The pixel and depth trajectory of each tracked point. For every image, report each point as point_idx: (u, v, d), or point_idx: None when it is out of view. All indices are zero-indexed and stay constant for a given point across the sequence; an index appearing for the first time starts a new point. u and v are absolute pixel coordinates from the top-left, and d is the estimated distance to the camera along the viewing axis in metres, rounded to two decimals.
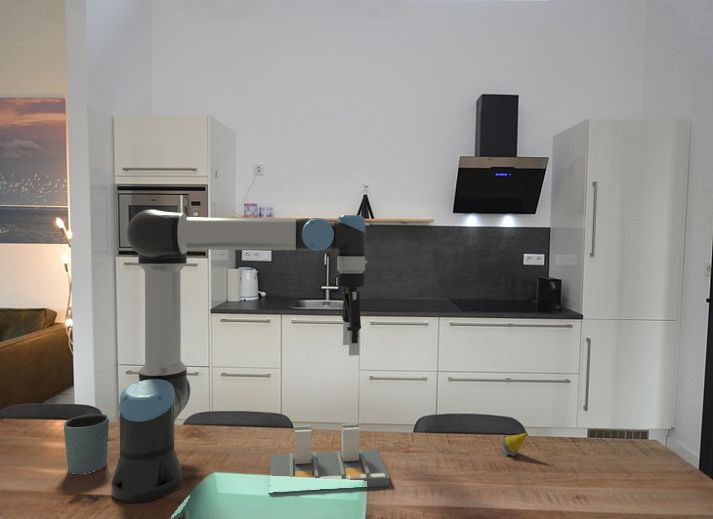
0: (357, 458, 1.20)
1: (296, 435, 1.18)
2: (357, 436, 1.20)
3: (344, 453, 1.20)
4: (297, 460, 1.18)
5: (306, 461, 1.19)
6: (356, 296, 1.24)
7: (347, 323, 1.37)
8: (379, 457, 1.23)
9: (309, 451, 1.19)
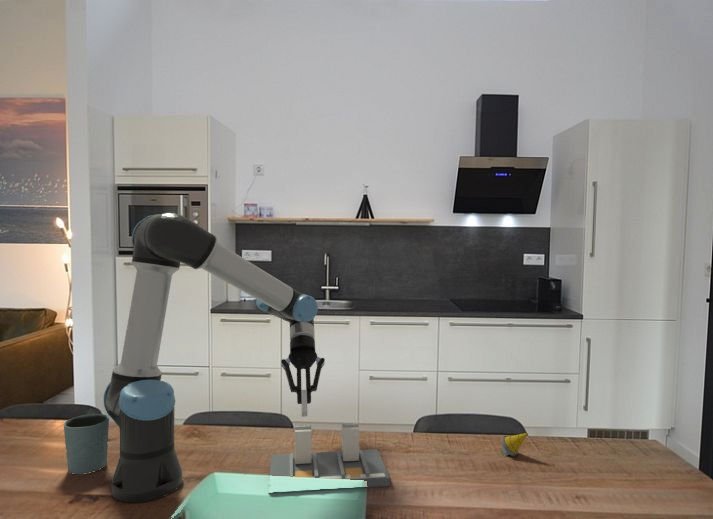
0: (357, 458, 1.20)
1: (296, 435, 1.18)
2: (357, 436, 1.20)
3: (344, 453, 1.20)
4: (297, 460, 1.18)
5: (306, 461, 1.19)
6: (323, 365, 1.41)
7: None
8: (379, 457, 1.23)
9: (309, 451, 1.19)
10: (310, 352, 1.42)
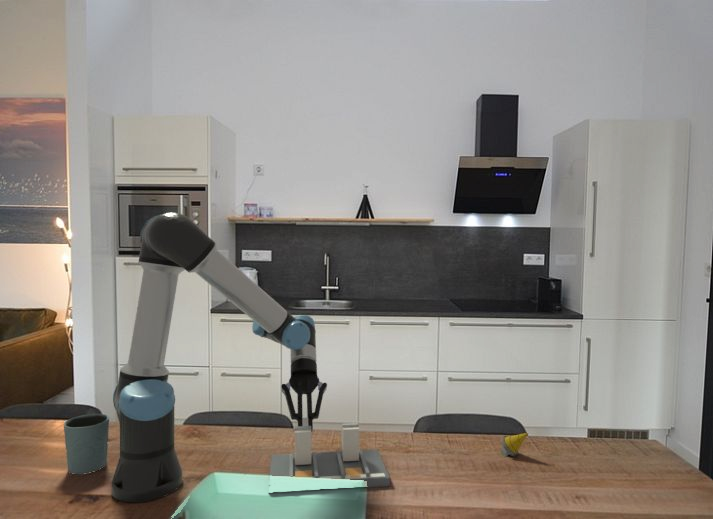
0: (357, 458, 1.20)
1: (296, 436, 1.17)
2: (357, 436, 1.20)
3: (344, 453, 1.20)
4: (297, 461, 1.18)
5: (306, 462, 1.18)
6: (325, 390, 1.35)
7: None
8: (379, 457, 1.23)
9: (309, 452, 1.18)
10: (312, 376, 1.35)
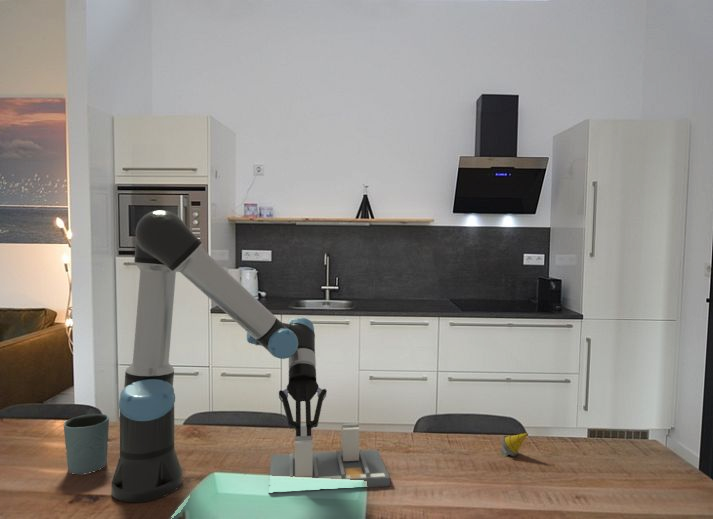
0: (357, 458, 1.20)
1: (296, 447, 1.11)
2: (357, 436, 1.20)
3: (344, 453, 1.20)
4: (297, 473, 1.11)
5: (307, 474, 1.12)
6: (324, 396, 1.28)
7: None
8: (379, 457, 1.23)
9: (310, 464, 1.12)
10: (311, 382, 1.29)
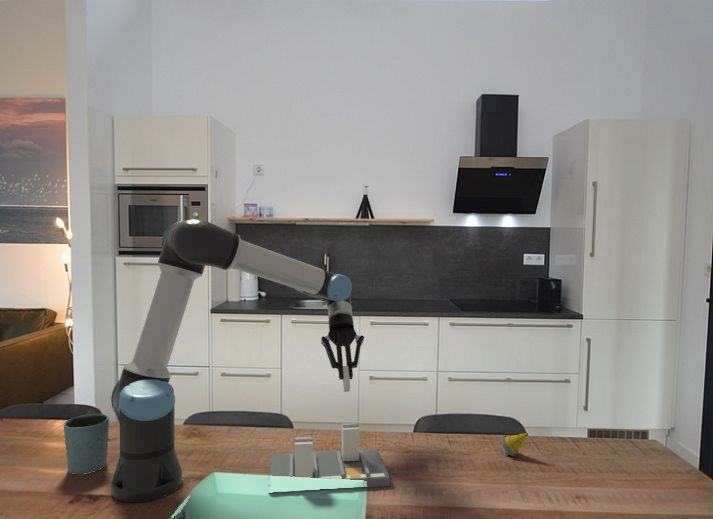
0: (357, 458, 1.20)
1: (296, 448, 1.10)
2: (357, 436, 1.20)
3: (344, 453, 1.20)
4: (297, 475, 1.11)
5: (307, 476, 1.11)
6: (362, 342, 1.42)
7: None
8: (379, 457, 1.23)
9: (310, 465, 1.11)
10: (349, 330, 1.43)
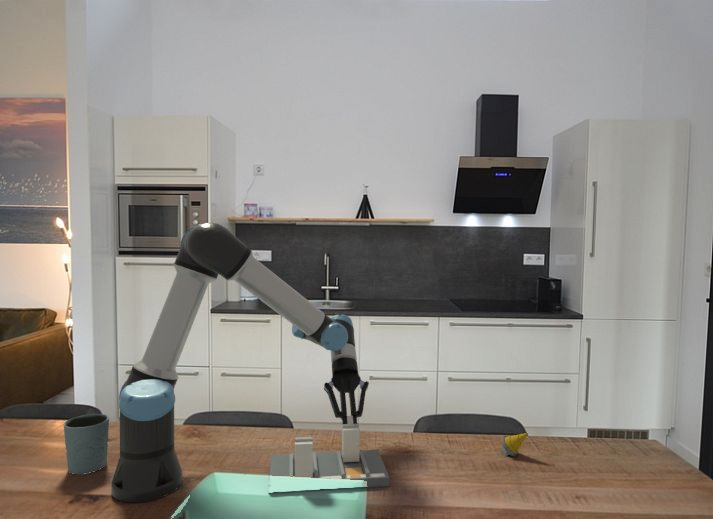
0: (357, 459, 1.20)
1: (296, 448, 1.10)
2: (357, 437, 1.20)
3: (344, 454, 1.19)
4: (297, 475, 1.11)
5: (307, 476, 1.11)
6: (366, 388, 1.36)
7: None
8: (379, 457, 1.23)
9: (310, 465, 1.11)
10: (353, 375, 1.37)
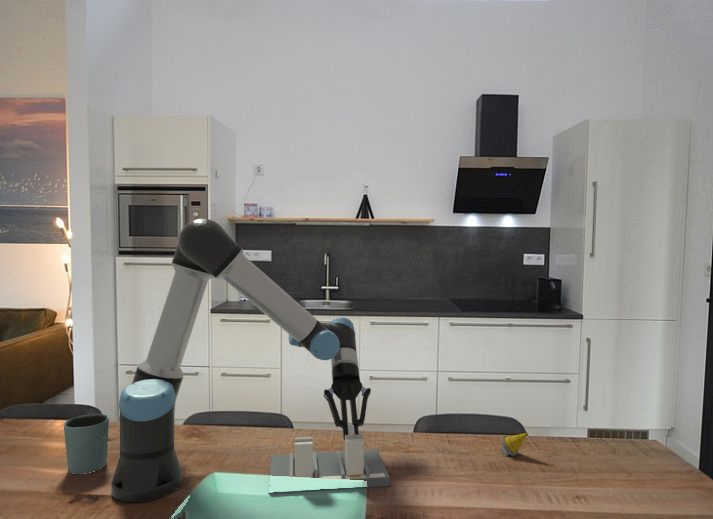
0: (361, 472, 1.13)
1: (296, 448, 1.10)
2: (361, 448, 1.13)
3: (348, 467, 1.12)
4: (297, 475, 1.11)
5: (307, 476, 1.11)
6: (368, 395, 1.29)
7: None
8: (379, 457, 1.23)
9: (310, 465, 1.11)
10: (355, 381, 1.30)
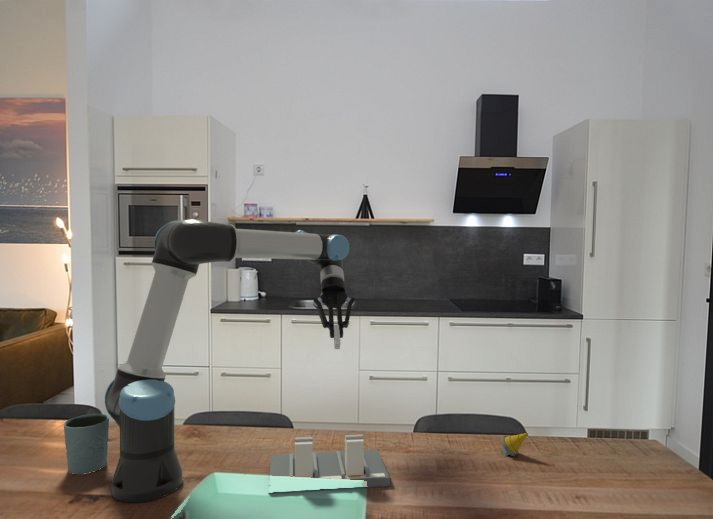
0: (362, 472, 1.13)
1: (296, 448, 1.10)
2: (362, 449, 1.13)
3: (348, 467, 1.12)
4: (297, 475, 1.11)
5: (307, 476, 1.11)
6: (353, 305, 1.47)
7: None
8: (379, 457, 1.23)
9: (310, 465, 1.11)
10: (341, 293, 1.47)
